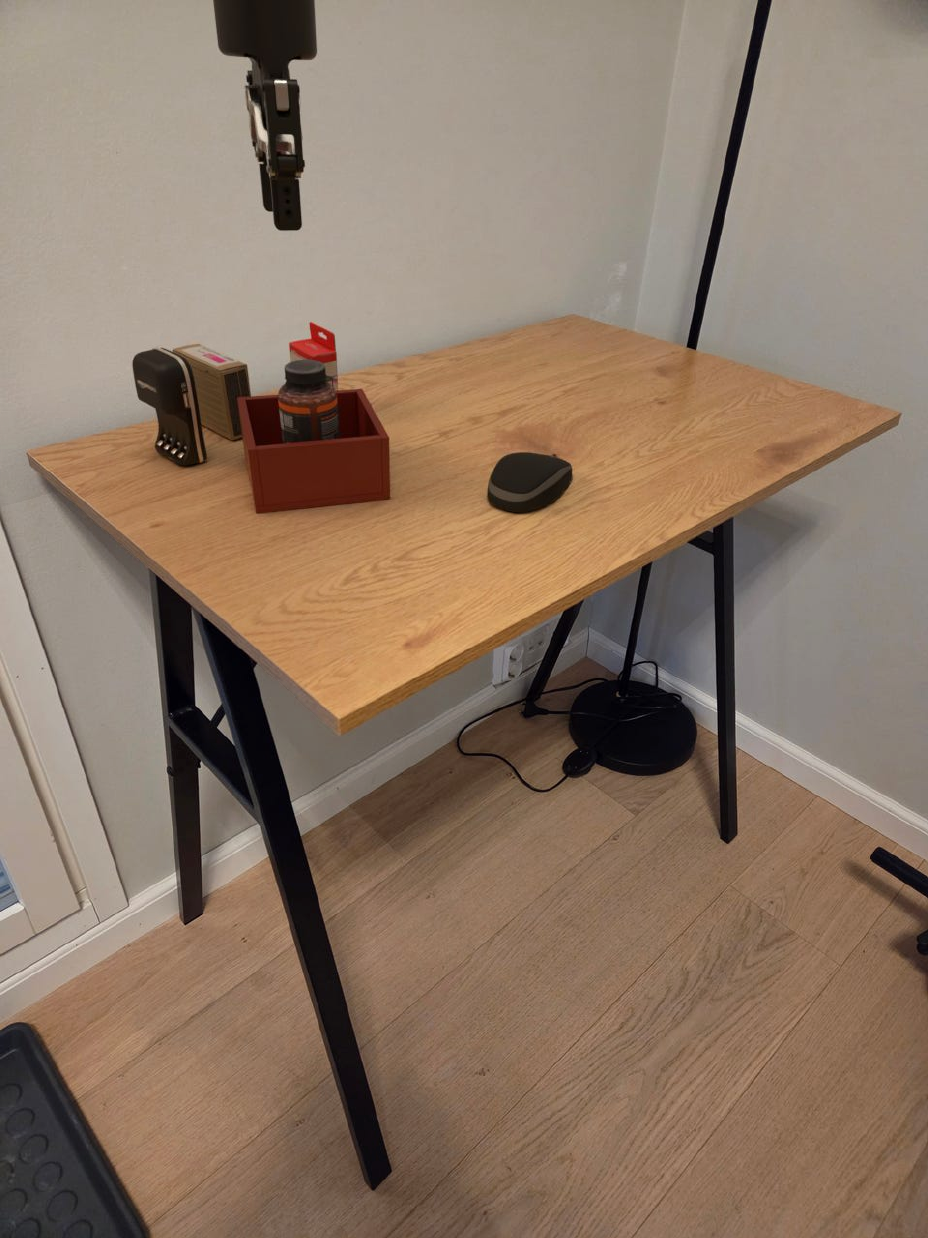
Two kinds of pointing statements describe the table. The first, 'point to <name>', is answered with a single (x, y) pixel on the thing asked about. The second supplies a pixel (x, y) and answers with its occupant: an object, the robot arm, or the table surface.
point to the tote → (315, 457)
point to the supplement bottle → (307, 404)
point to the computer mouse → (528, 481)
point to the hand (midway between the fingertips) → (282, 219)
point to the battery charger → (171, 404)
